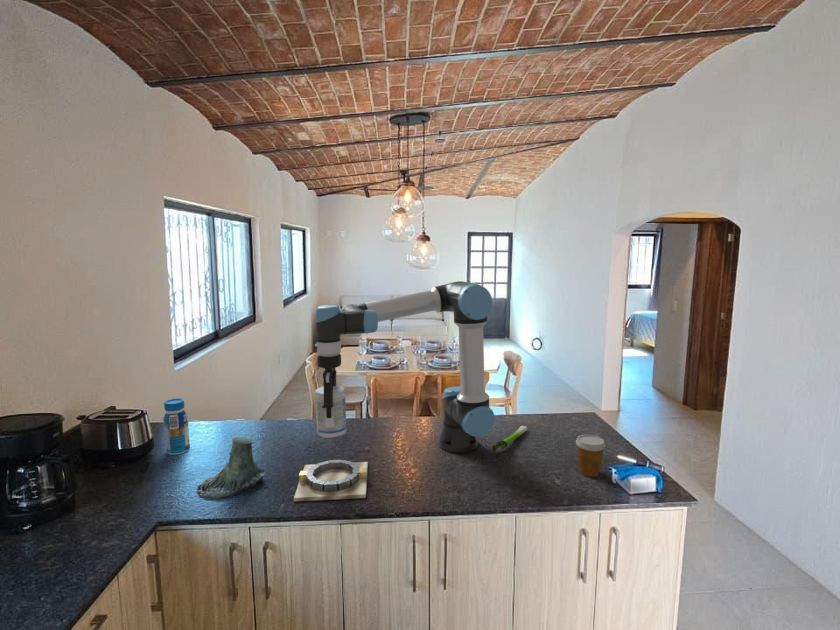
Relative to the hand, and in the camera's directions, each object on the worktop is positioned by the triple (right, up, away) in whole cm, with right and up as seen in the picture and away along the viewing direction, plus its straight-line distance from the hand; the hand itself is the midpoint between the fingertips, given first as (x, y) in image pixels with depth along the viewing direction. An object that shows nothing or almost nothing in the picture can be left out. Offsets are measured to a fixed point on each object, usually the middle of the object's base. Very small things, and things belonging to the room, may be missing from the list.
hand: (331, 420), depth 154 cm
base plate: (0, -21, +3) cm, 21 cm away
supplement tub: (0, -4, +1) cm, 4 cm away
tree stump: (-33, -22, +3) cm, 40 cm away
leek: (+65, -17, +33) cm, 75 cm away
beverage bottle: (-64, -18, +28) cm, 72 cm away
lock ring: (0, -20, +3) cm, 20 cm away
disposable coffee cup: (+87, -20, +8) cm, 90 cm away
